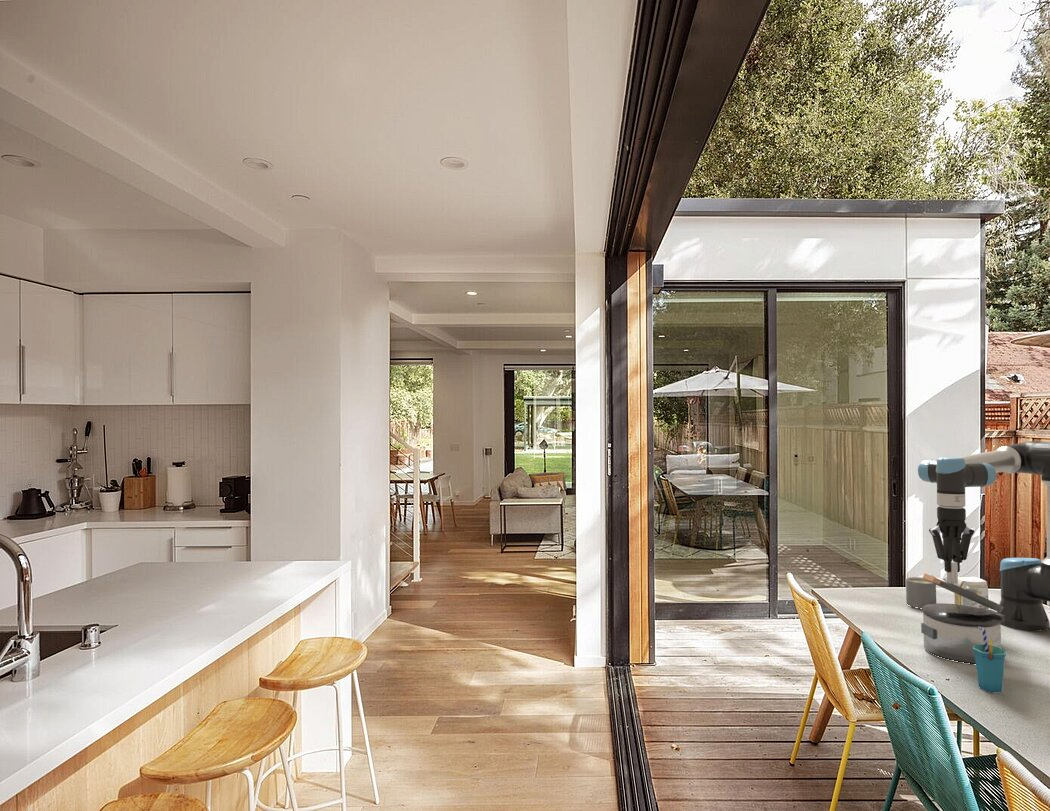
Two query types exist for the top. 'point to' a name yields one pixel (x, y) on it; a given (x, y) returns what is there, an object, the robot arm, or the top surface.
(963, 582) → the juice carton
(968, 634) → the cooker
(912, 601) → the coffee mug
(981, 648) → the cup
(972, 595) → the cooker lid
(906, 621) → the top surface
